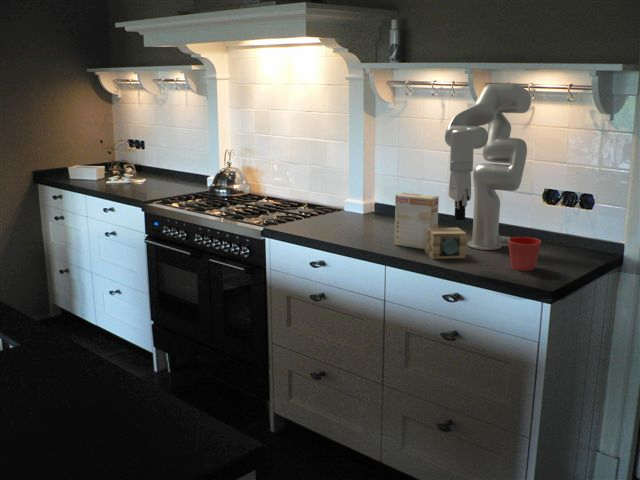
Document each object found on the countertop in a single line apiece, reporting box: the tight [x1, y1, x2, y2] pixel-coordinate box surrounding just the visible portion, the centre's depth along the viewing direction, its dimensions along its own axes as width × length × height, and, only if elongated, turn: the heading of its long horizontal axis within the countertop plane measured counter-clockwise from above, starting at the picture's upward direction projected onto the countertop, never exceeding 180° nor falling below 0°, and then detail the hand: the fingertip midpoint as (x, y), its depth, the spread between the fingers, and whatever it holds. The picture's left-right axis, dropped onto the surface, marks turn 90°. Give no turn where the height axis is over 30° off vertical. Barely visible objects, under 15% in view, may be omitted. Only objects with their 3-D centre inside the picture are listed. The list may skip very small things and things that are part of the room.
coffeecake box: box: [393, 192, 440, 250], centre depth 269 cm, size 15×7×20 cm, turn 56°
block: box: [424, 226, 468, 260], centre depth 256 cm, size 10×12×9 cm
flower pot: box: [507, 236, 542, 272], centre depth 240 cm, size 11×11×10 cm
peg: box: [442, 239, 458, 254], centre depth 256 cm, size 11×6×6 cm, turn 8°
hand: (459, 219), depth 242 cm, fingers closed
